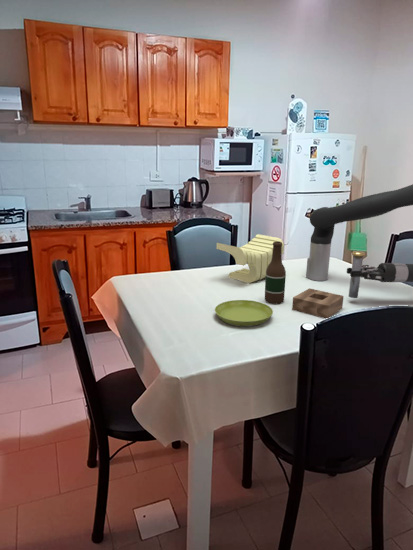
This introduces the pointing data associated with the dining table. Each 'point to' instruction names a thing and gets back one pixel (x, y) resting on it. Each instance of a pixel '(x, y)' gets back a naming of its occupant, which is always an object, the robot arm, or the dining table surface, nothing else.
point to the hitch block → (317, 303)
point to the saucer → (243, 312)
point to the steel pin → (356, 267)
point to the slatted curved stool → (252, 257)
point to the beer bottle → (275, 277)
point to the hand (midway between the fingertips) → (349, 272)
